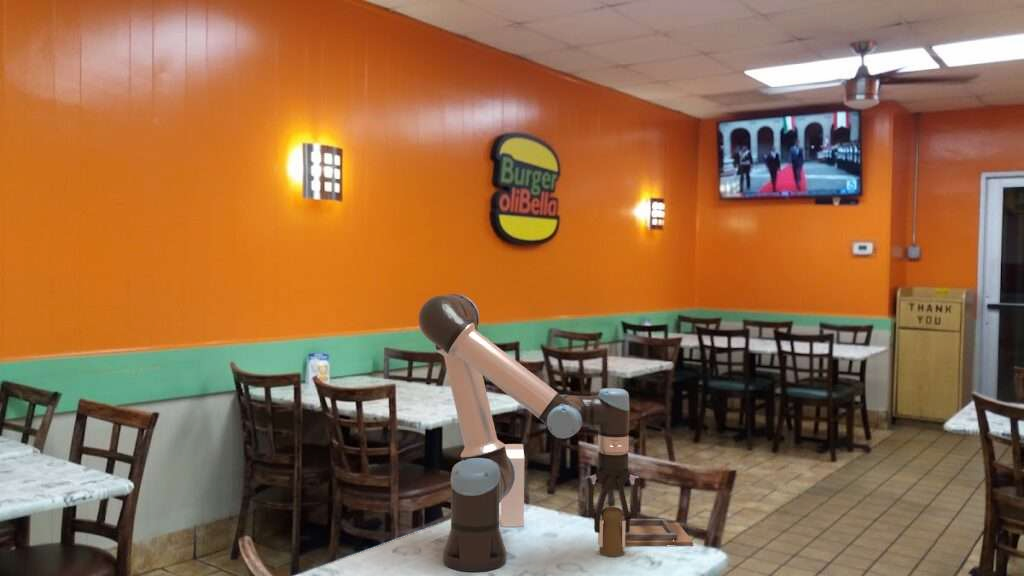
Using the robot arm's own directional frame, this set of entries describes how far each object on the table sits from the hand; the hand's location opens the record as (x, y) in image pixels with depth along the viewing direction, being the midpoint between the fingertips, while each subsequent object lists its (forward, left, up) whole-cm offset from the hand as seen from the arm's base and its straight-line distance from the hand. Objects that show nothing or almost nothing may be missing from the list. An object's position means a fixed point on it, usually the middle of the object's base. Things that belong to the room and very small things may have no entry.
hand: (611, 545), depth 203 cm
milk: (-24, +24, -2) cm, 34 cm away
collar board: (+11, +13, -2) cm, 17 cm away
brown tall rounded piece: (0, 0, -2) cm, 2 cm away
